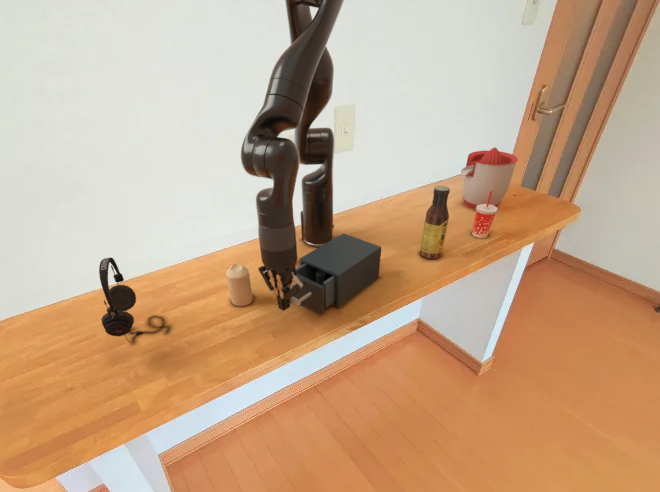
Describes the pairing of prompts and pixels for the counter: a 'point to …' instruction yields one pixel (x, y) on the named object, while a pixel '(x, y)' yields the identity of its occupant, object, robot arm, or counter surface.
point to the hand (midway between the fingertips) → (284, 307)
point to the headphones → (117, 302)
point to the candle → (239, 285)
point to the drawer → (314, 290)
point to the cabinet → (347, 264)
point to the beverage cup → (483, 219)
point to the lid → (320, 277)
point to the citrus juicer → (487, 177)
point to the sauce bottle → (435, 224)
